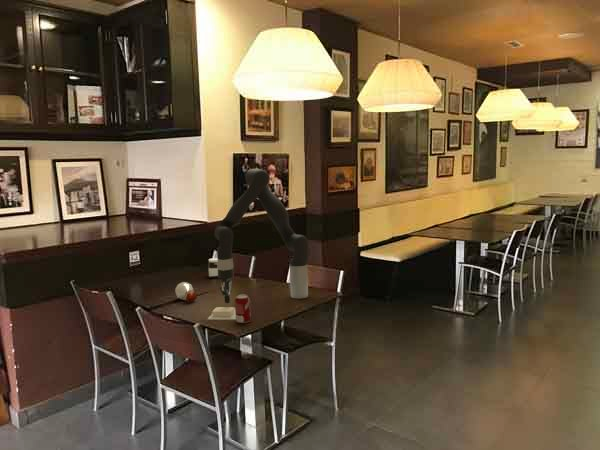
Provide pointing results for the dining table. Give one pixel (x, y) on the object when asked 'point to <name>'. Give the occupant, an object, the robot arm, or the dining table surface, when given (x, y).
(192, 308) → the dining table surface
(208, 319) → the mat
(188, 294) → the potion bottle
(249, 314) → the soda can
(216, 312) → the card deck
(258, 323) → the dining table surface
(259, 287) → the dining table surface
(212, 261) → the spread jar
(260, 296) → the dining table surface
